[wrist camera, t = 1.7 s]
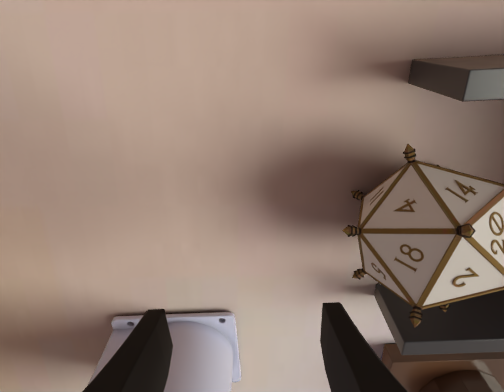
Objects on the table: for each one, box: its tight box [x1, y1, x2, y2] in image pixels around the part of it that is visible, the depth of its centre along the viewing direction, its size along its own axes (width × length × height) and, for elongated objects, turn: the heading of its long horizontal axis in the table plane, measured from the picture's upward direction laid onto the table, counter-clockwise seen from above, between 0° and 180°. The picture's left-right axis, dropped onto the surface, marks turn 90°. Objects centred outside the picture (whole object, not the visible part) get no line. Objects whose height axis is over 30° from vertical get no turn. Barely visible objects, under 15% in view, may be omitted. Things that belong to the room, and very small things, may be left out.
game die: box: [342, 144, 504, 328], centre depth 17 cm, size 9×8×10 cm
